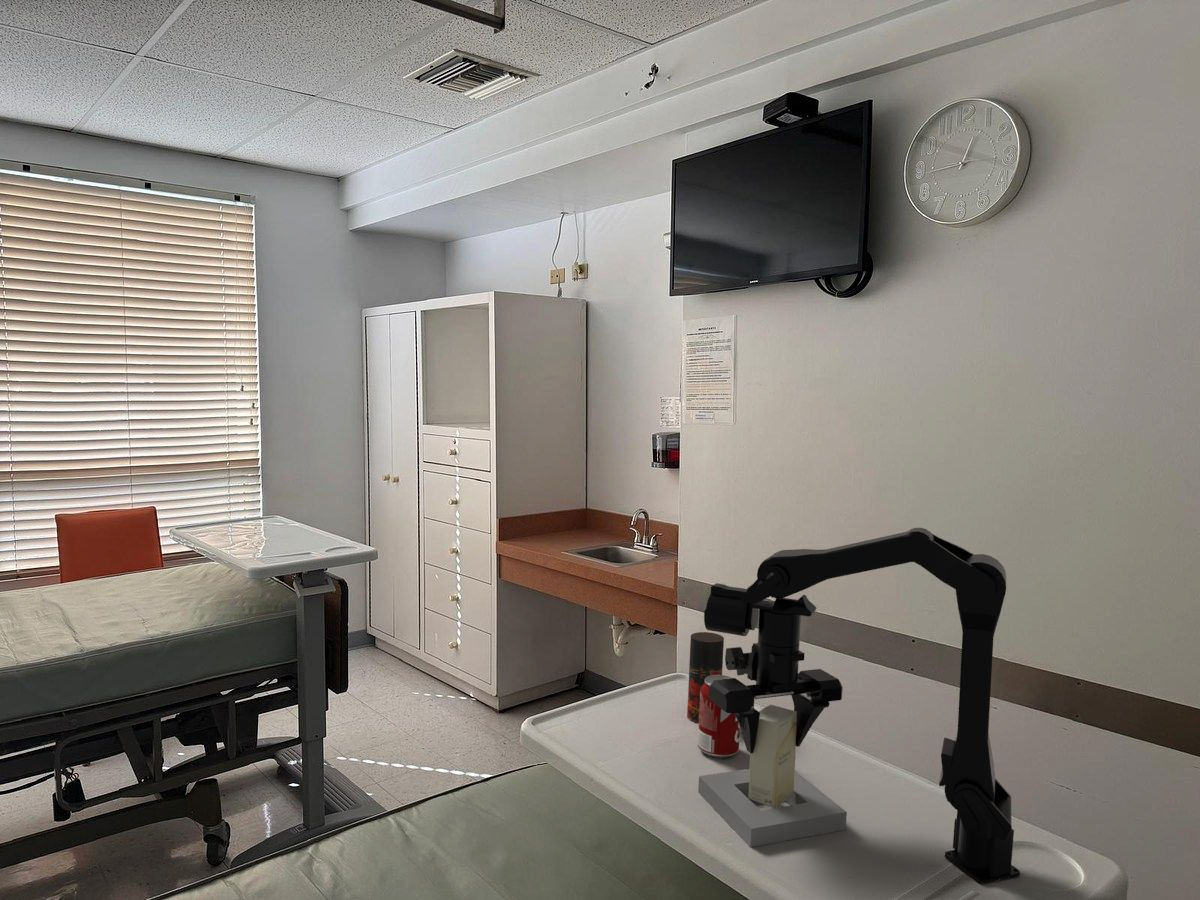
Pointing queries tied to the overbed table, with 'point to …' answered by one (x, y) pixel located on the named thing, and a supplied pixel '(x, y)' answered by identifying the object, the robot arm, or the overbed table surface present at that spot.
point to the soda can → (716, 725)
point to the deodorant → (702, 667)
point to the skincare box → (773, 757)
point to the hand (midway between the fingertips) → (773, 748)
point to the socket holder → (771, 825)
